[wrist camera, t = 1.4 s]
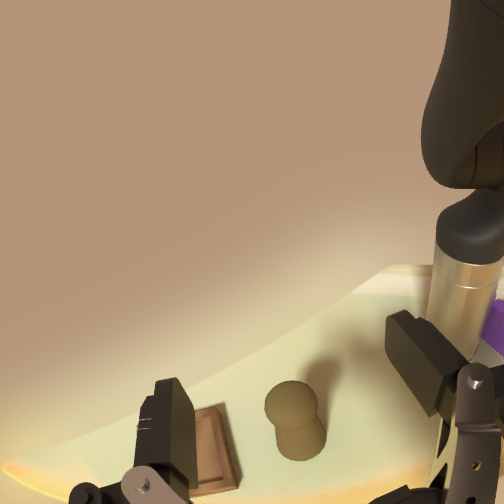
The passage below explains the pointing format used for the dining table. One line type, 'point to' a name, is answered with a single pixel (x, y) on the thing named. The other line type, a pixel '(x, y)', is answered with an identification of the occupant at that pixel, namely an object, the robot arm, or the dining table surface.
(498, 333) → the bracket
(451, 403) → the robot arm
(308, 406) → the olive pepper mill
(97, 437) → the dining table surface
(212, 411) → the tray
